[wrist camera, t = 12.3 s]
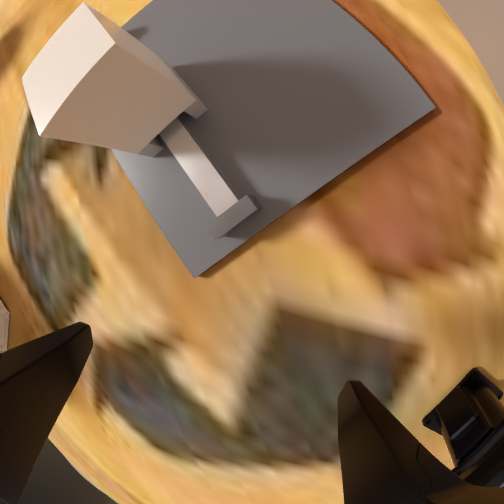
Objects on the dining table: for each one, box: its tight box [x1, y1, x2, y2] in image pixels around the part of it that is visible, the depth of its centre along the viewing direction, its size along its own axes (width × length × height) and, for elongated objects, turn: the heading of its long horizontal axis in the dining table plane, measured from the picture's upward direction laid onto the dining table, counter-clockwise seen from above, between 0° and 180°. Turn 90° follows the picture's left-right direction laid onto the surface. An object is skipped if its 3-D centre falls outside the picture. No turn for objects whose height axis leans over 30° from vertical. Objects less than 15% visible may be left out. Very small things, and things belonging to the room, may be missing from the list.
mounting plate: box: [111, 0, 436, 278], centre depth 17 cm, size 22×20×1 cm
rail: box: [159, 115, 263, 240], centre depth 17 cm, size 20×3×2 cm, turn 36°
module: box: [22, 2, 208, 158], centre depth 13 cm, size 5×5×10 cm
